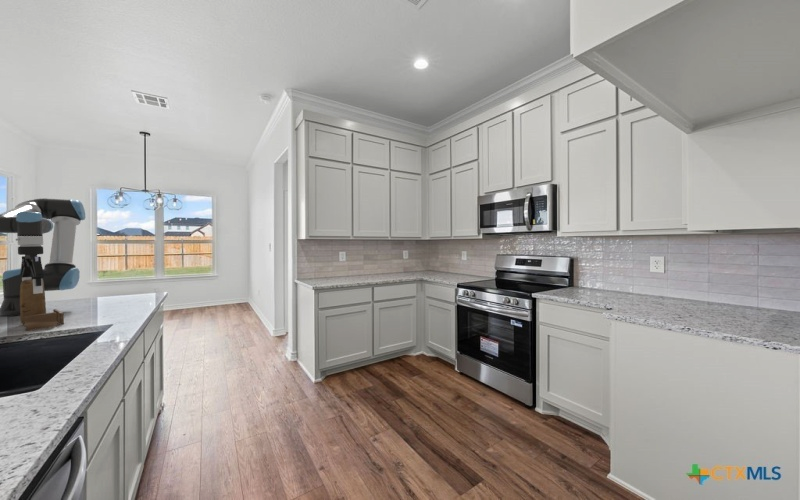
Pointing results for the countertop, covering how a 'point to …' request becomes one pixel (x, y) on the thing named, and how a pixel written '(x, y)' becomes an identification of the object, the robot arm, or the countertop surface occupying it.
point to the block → (31, 300)
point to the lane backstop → (40, 321)
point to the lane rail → (59, 316)
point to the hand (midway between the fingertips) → (32, 292)
